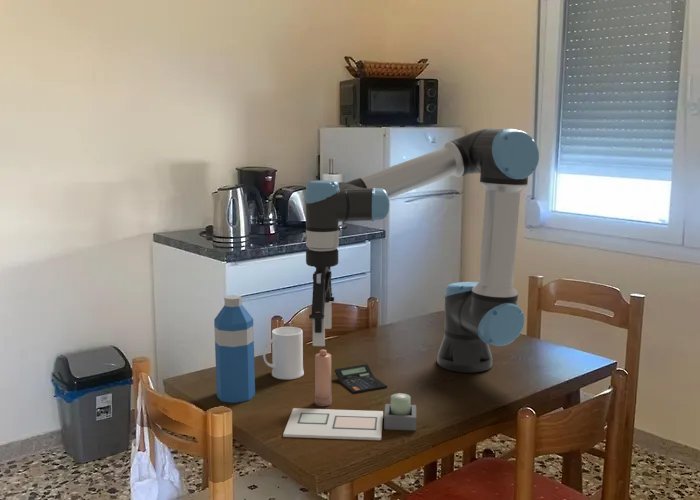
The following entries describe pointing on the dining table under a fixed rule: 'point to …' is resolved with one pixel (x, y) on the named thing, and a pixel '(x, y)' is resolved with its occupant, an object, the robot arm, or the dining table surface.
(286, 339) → the mug
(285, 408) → the dining table surface
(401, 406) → the button
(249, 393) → the water bottle
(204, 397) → the dining table surface
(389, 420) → the button housing
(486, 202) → the robot arm
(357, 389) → the calculator
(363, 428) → the picture sheet
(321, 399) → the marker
